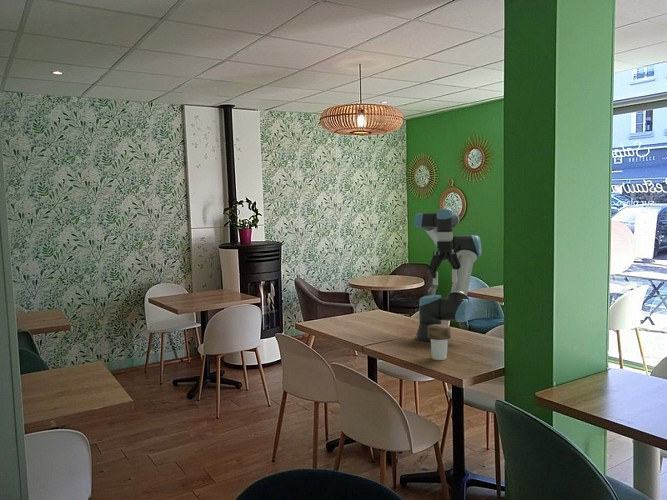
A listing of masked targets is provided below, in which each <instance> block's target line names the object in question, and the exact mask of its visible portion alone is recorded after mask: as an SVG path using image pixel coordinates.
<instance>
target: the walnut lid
mask: <svg viewBox="0 0 667 500" xmlns="http://www.w3.org/2000/svg"><path fill="white" fill-rule="evenodd" d="M451 331H452V330H451V326H450V325H447V324H442V323H441V324H433V325H429V326H428V338H430V339H434V340H446V339H448V340H449V339H452V337H451V336H452V335H451Z"/></svg>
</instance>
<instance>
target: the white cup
mask: <svg viewBox="0 0 667 500" xmlns="http://www.w3.org/2000/svg"><path fill="white" fill-rule="evenodd" d="M448 340H449V339H446V340H434V339H431V342H430V349H431V352H430V353H431V360H436V361H444V360H447V358H448V357H447V356H448V355H447V354H448Z"/></svg>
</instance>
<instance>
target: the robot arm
mask: <svg viewBox="0 0 667 500" xmlns="http://www.w3.org/2000/svg"><path fill="white" fill-rule="evenodd" d="M413 218H414V219H413V223H414V226H415V228H418V229H423V230H424V232H426V234H427V235H428V236H429V238H430V239H431V240H432V241H433V244H434V247H435V248H436V249H437V250H433V251H432V253H433V255H432V258H431V260H430V261H431V262H429V263H430V264H429V267H428V271H430V272H431V278H432V286H438V285H439V271H438V269H439V267H440V266H441V264H442V263H443V261H445V260H447V261H448V263H449V264H450V266H451V267H452V268H451V283H452V285H451V290H450V292H449V293H447V295H446V297H445V298H443V297H442V295H441V294H431V295H424V296H422V297H420V298H419V302H418V303H419V304H418V308H419V309H418V313H419V314H418V317H419V318H418V319H419V320H418V321H419V325H418V328H417V331H416V334H415V335H416V336H415V337H416V340H418V341H421V342H430V343H431V339H430V338H428V326H429V325H433V324H442V321H447V322H456V323H463V322H464V323H465V322H467V321H468V320H469V319H470V316H471V312H472V308H473V307H472V301H471V300H470V297H468V292H469V287H470V283H471V277H472V271H473V266H474V263H475V262H476V261H477V259H478V257H481V256H482V254H483V253H482V248H483V247H482V241H481V238H480V236H479V235H473V234H472V235H457V234H456V235H454V234H453V233H454V232H453V229H454V228H455V227H458V225H459V223H460V216H459V215H458V214H457V213H455V212H453V209H450V208H441V209H440V208H439V209H437V211H436V212H431V213H430V212H427V213H426V212H425V213H424V212H422V213H421V212H420V213H416V214H415V215H414V217H413Z"/></svg>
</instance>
